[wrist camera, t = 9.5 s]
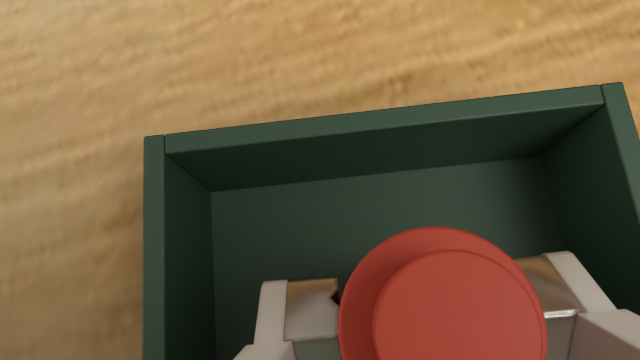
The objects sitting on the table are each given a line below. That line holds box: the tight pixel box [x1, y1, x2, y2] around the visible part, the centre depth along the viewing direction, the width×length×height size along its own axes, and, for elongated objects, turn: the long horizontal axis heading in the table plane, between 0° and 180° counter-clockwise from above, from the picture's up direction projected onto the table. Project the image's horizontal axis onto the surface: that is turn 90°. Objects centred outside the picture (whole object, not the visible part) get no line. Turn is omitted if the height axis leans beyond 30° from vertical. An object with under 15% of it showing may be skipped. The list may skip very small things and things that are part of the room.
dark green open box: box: [142, 82, 640, 360], centre depth 14 cm, size 13×11×5 cm
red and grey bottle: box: [338, 226, 547, 360], centre depth 11 cm, size 3×3×10 cm
